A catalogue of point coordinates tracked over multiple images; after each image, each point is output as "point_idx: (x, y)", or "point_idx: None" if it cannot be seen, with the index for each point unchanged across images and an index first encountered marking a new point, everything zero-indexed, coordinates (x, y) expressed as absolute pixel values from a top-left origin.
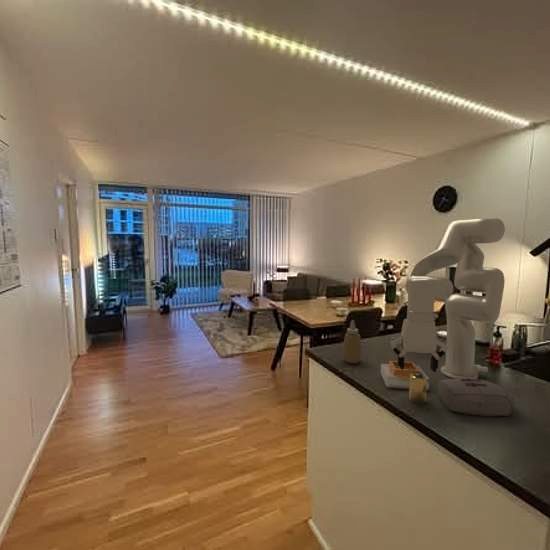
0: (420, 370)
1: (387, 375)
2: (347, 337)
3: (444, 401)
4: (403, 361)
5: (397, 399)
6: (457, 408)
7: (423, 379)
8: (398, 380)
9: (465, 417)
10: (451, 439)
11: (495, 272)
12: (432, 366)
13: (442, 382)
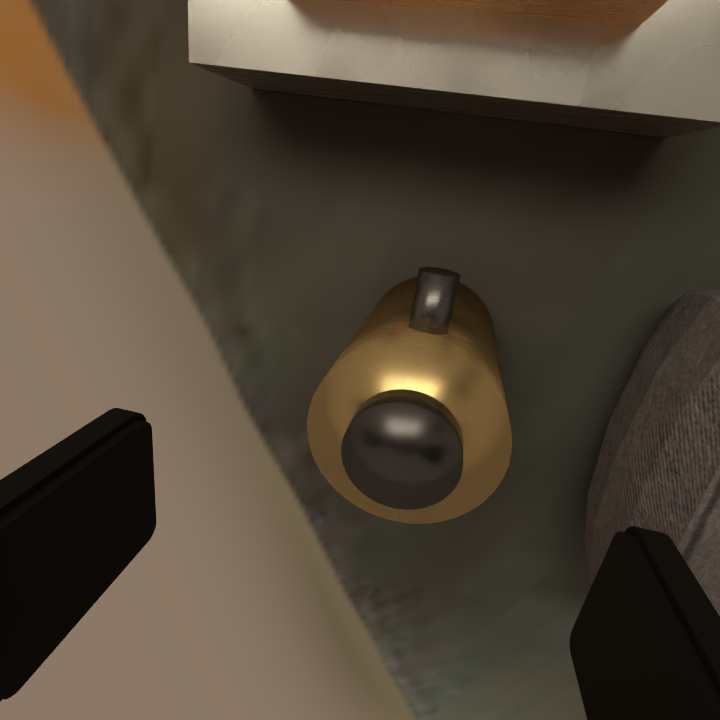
0: None
1: (198, 29)
2: None
3: (599, 462)
4: (50, 640)
5: (282, 321)
6: None
7: (427, 521)
8: (335, 84)
9: None
10: (407, 678)
11: None
12: (608, 662)
13: (717, 451)
